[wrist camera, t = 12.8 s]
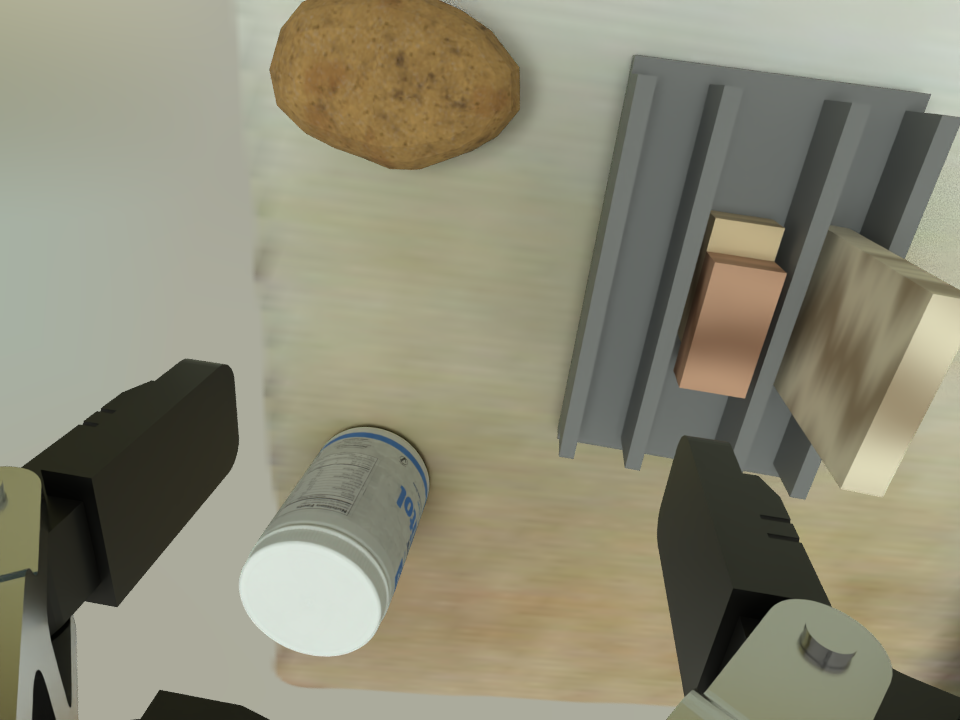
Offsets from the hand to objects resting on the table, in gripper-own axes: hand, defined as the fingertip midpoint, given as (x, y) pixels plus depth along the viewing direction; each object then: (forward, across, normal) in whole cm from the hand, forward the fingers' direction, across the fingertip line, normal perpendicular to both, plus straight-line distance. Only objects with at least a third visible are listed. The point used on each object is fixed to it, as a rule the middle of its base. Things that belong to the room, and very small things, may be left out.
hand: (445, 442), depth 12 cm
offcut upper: (+29, -13, +7) cm, 33 cm away
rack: (+33, -13, +6) cm, 36 cm away
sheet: (+32, -18, +6) cm, 37 cm away
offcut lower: (+32, -13, +5) cm, 35 cm away
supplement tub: (+33, +10, +26) cm, 43 cm away
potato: (+34, +8, -4) cm, 35 cm away
